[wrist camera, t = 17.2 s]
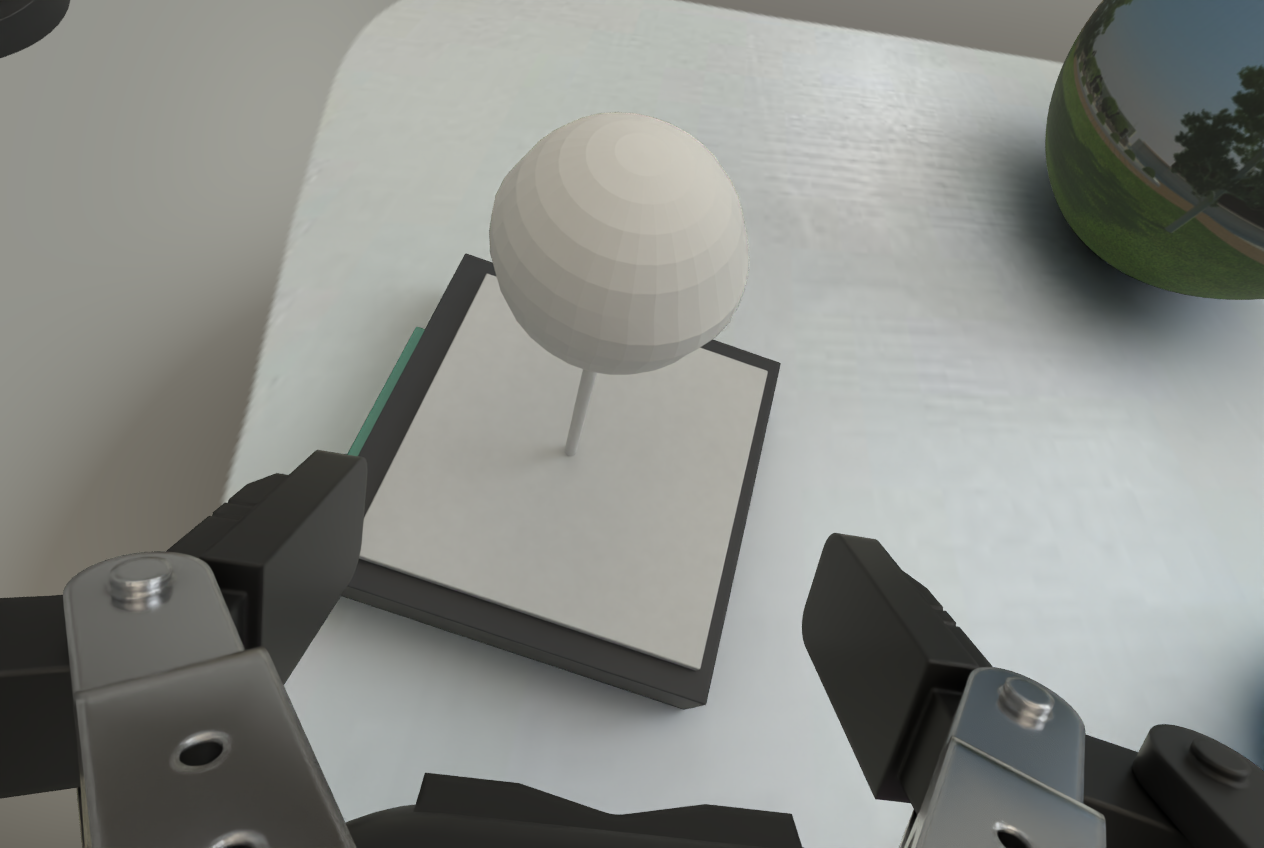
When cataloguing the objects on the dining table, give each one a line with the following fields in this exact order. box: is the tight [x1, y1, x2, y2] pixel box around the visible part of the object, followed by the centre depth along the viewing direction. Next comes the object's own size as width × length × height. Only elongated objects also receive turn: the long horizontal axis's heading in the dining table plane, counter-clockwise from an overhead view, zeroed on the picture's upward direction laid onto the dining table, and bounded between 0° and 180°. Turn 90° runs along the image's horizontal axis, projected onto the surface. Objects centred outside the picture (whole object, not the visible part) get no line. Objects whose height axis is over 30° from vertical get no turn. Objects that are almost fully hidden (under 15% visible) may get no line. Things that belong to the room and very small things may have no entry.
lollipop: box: [489, 112, 749, 456], centre depth 20 cm, size 6×6×15 cm
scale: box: [341, 254, 780, 709], centre depth 28 cm, size 16×15×4 cm
